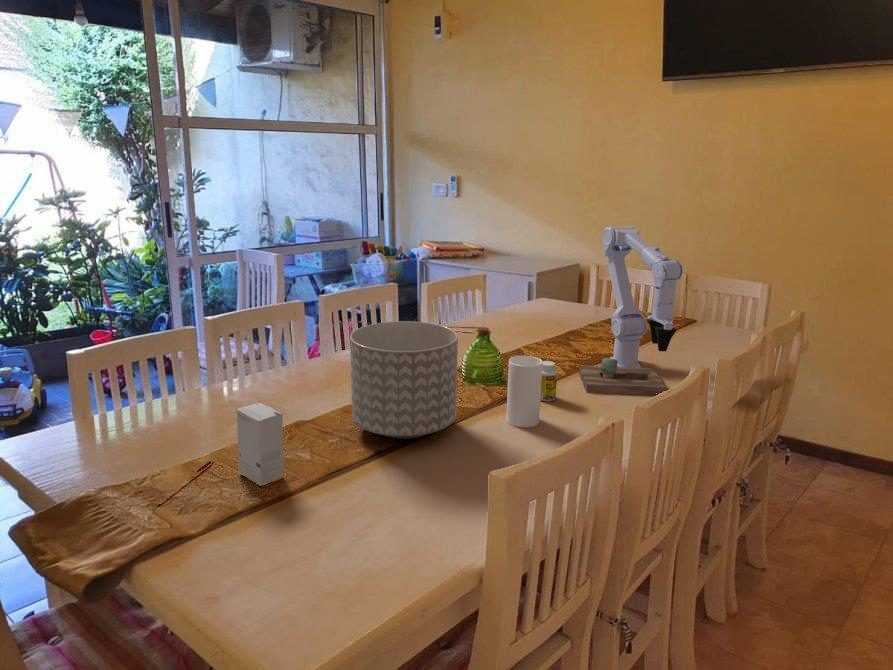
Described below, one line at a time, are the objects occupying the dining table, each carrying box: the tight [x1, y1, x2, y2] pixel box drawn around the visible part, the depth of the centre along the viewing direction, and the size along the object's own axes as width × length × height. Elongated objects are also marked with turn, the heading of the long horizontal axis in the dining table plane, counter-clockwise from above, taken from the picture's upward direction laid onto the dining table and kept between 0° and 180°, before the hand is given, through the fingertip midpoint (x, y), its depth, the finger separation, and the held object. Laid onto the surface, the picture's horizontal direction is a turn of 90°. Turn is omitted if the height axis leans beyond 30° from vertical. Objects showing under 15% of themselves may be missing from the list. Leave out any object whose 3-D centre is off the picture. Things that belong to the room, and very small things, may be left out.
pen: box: [195, 460, 212, 473], centre depth 134 cm, size 1×19×1 cm, turn 166°
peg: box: [601, 357, 618, 378], centre depth 193 cm, size 4×4×7 cm
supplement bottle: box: [540, 360, 558, 402], centre depth 180 cm, size 6×6×10 cm
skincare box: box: [236, 402, 284, 485], centre depth 135 cm, size 8×6×15 cm
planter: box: [349, 320, 459, 440], centre depth 157 cm, size 25×25×24 cm
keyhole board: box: [578, 365, 667, 396], centre depth 193 cm, size 16×22×2 cm
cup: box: [505, 355, 543, 429], centre depth 164 cm, size 8×8×16 cm
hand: (659, 347), depth 194 cm, fingers open, 7 cm apart
